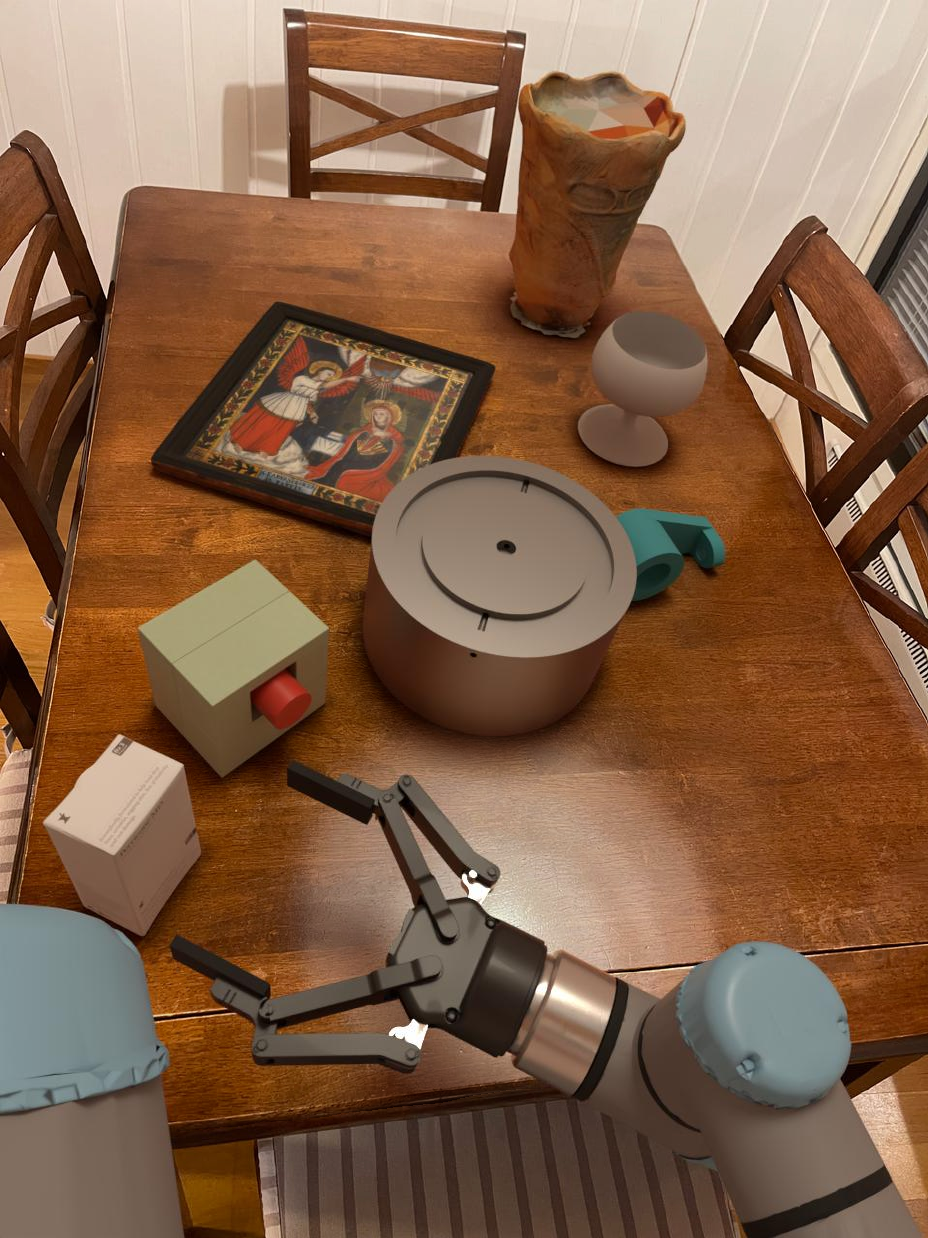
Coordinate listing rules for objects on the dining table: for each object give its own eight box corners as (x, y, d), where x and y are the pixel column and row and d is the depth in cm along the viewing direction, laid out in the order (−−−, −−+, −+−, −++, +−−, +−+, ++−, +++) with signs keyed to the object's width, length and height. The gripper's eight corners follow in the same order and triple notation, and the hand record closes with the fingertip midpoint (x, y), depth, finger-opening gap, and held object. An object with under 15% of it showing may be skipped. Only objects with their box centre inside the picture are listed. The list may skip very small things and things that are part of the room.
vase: (627, 290, 139) (695, 83, 115) (612, 363, 126) (685, 147, 103) (497, 255, 139) (539, 42, 116) (469, 324, 126) (509, 100, 103)
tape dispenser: (585, 562, 101) (603, 514, 95) (694, 539, 106) (718, 493, 100) (611, 606, 98) (632, 560, 92) (722, 581, 103) (749, 535, 97)
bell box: (325, 703, 85) (329, 628, 75) (221, 778, 78) (212, 706, 69) (259, 638, 88) (255, 558, 79) (154, 705, 82) (136, 627, 72)
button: (311, 710, 77) (312, 685, 74) (275, 737, 75) (274, 712, 72) (271, 670, 79) (270, 644, 76) (234, 695, 77) (232, 669, 74)
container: (613, 580, 100) (650, 496, 90) (577, 767, 84) (617, 692, 74) (402, 518, 101) (415, 428, 91) (328, 692, 85) (333, 607, 75)
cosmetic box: (143, 939, 69) (113, 865, 58) (78, 905, 70) (35, 825, 58) (205, 849, 74) (188, 764, 63) (143, 818, 75) (116, 728, 63)
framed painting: (246, 306, 121) (245, 287, 119) (496, 363, 122) (500, 345, 119) (139, 494, 97) (135, 474, 95) (451, 563, 98) (454, 546, 96)
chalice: (568, 395, 120) (598, 296, 108) (667, 410, 121) (707, 314, 109) (572, 465, 111) (605, 366, 99) (679, 480, 112) (724, 384, 101)
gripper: (438, 1225, 51) (125, 1051, 54) (576, 858, 66) (327, 738, 69) (458, 1214, 45) (105, 1019, 48) (604, 814, 60) (330, 685, 63)
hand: (235, 853), depth 59 cm, fingers open, 13 cm apart
